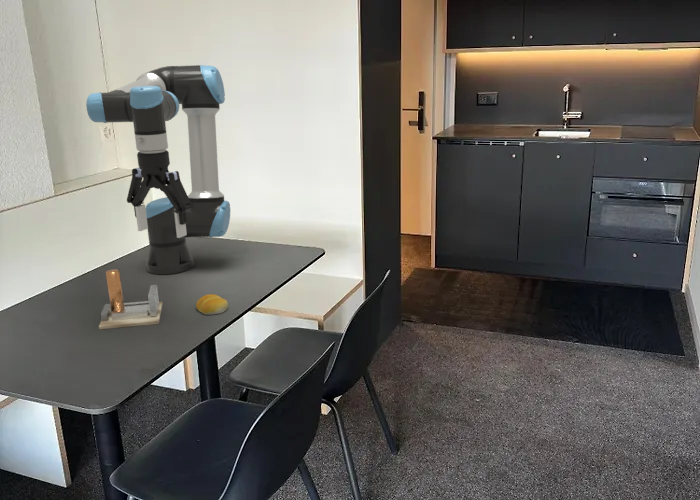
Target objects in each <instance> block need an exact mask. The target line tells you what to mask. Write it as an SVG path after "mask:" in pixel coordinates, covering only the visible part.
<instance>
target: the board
mask: <svg viewBox="0 0 700 500" xmlns="http://www.w3.org/2000/svg"><path fill="white" fill-rule="evenodd" d="M162 309H163V301H159V308H158V313H157V316H151V315H150V314H148V317H145V318H134V319H124V320H113V319H112V313H113V312H111V315H110V317H109V320H108V321H102V320H100V323H99V325H98V330H106V329H107V330H110V329H117V328H129V327H139V326H140V327H141V326H150V325H159V324H160V320H161V314H162Z"/></svg>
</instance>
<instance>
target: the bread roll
mask: <svg viewBox="0 0 700 500" xmlns="http://www.w3.org/2000/svg"><path fill="white" fill-rule="evenodd" d="M195 307H196V309H197V310H198V311H199V312H200V313H202V314H203V315H206V316H210V315H212V316H213V315H219V314H222V313H225V312H226V311H227V310H228V308H229V302H228V301H227V300H226V299H225V298H222V297H221V296H219V295H217V294H215V293H214V294H213V293H211V294H210V293H208V294H205V295H203V296H201V297H200V298H199V299H198V300H197V302H196V303H195Z"/></svg>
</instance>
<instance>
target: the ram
mask: <svg viewBox="0 0 700 500" xmlns="http://www.w3.org/2000/svg"><path fill="white" fill-rule="evenodd" d="M105 276H106V282H107V283H106V284H107V290H108V295H109V304H110V305H111V311H112V312H124V311H135V310H146V309H147V310H148V314H150V315H151V316H157V313H158V308H159V302H160V299H159V293H158V284H151V285H150V287H149V291H148V294H147V298H148V301H149V304H146V305H134V306H124V303H125V302H124V295H123V288H122V280H121V273H120V269H114V268H113V269H109V270H106V271H105Z"/></svg>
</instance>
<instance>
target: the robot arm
mask: <svg viewBox="0 0 700 500" xmlns="http://www.w3.org/2000/svg"><path fill="white" fill-rule="evenodd" d="M222 78H223V77H222V75H221V73H220V70H219V69H218V68H217V67H216V66H214V65H208V64H207V65H206V64H205V65H203V64H200V65H199V64H198V65H197V64H196V65H169V66H168V65H167V66H162V67H158V68H155V69H153V70H150V71H147V72H144V73H142V74H141V75H139V76H138V77H137V78H136V80H134V81H133V82H130V83H128V84H125V85H124V86H120V87H118V88H117V89H114V90H111V91H109V92H108V91H107V92H101V91H100V92H93V93H90V94H88V96H87V98H86V112H87V115H88V118H89V119H90V120H91V121H92V122H94V123H104V124H108V123H133V130H134V139H135V145H136V147H135V148H136V150H137V151H138V152H137V154H136V156H137V164H138V167H136V168H132V169H131V181H130V186H129V188H128V194H127V197H126V202H127V203H128V204H131V205H132V206H133V209H134V210H133V211H134V216H135V219H136V223H137V231H138V232H143V231H145V230H147V235H148V244H149V249H148V253H147V257H146V261H145V266H146V271H147V272H148V273H150V274H153V275H154V274H155V275H174V274H179V273H183V272H186V271H188V270H190V269H191V268H193V267H194V265H195V264H194V258H193V255H192V253H191V251H190V249H189V247H188V245H187V242H186V241H187V240H186V239H187V238H218V237H223V236H225V235H226V233H227V232H228V229H229V225H230V220H231V204H230V202H229V201H227V200H225V195H224V194H223V192H221V191H220V186H219V184H220V183H219V163H218V149H217V148H218V146H217V126H216V125H217V124H216V114H217V113H218V112H220V109H221V108H220V105H222V104H224V103H225V99H226V98H225V95H226V94H225V93H226V92H225V88H224V87H225V86H224V82H223V79H222ZM180 105H181V110H182V111H183V112H184V113H185V114H186V116H187V129H188V130H187V131H188V133H187V134H188V146H189V147H188V148H189V162H190V163H189V164H190V165H189V166H190V182H191V192H190V193H189V194H187V192H186V189H185V188H184V185H183V183H182V180H181V178H180V172H179V171H178V170H175V171H169V166H170V153H169V151H168V148H169V144H168V135H167V127H166V126H167V125H166V122H169V121H171V120H172V119H173V118H175V116H176V117H177V115H178V112H179V110H180ZM153 188H154V189H156V190H160V191H161V192H163V193H164V195H165V196H166V197H161V198H158V199H154V200H151V201H149V202H148V203H147V204H144V201H145V200H146V197H147V195H148V194H149V191H150V190H151V189H153Z"/></svg>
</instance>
